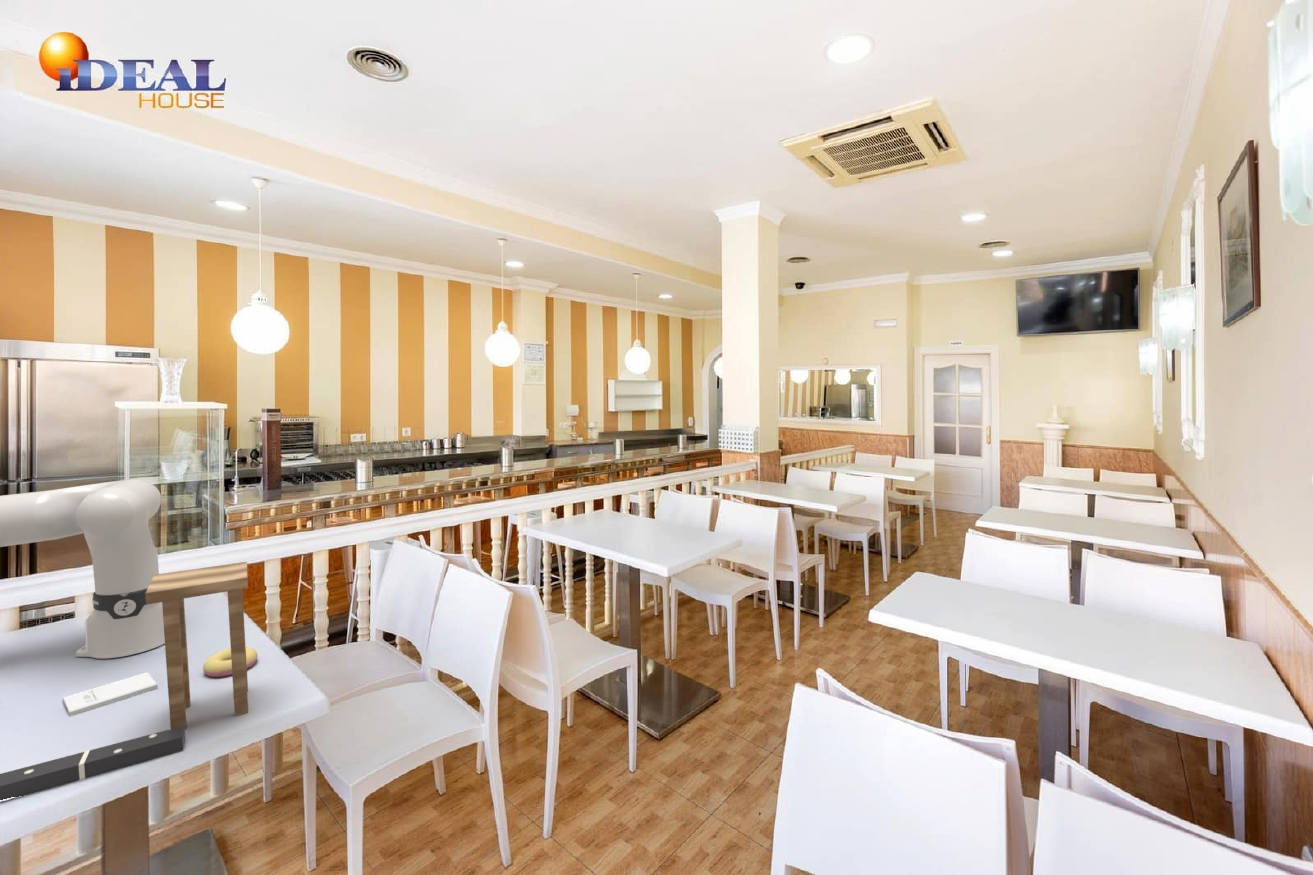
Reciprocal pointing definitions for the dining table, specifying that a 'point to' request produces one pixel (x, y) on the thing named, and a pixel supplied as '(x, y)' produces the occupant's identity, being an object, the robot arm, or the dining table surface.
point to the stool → (172, 596)
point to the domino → (90, 763)
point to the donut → (226, 662)
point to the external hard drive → (109, 693)
